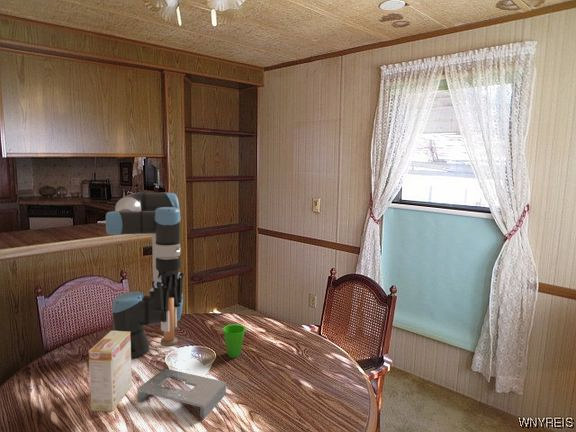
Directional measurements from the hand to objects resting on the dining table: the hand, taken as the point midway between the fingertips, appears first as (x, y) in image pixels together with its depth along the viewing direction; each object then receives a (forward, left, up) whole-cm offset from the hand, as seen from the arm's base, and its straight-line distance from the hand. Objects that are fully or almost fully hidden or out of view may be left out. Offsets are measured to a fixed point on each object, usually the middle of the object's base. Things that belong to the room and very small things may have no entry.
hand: (169, 328), depth 130 cm
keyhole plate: (+5, 0, -23) cm, 24 cm away
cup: (+7, +33, -23) cm, 41 cm away
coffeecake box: (-16, -8, -23) cm, 29 cm away
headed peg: (0, 0, -5) cm, 5 cm away
